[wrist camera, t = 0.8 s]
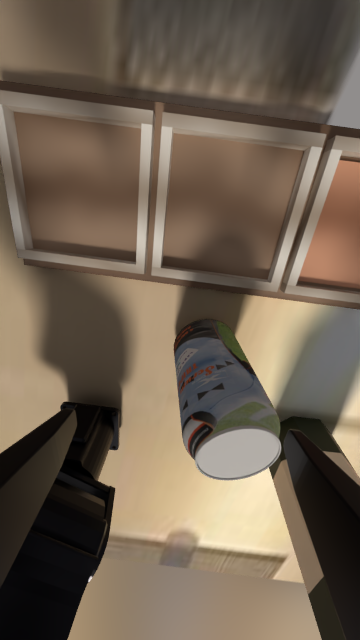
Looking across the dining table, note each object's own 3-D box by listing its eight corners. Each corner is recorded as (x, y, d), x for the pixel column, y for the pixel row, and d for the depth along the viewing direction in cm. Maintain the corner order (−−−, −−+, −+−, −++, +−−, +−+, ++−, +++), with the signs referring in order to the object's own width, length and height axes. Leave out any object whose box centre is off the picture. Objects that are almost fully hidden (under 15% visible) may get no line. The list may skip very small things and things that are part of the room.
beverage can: (187, 305, 21) (181, 395, 10) (257, 330, 22) (320, 439, 11) (166, 357, 24) (144, 472, 13) (229, 377, 25) (259, 504, 14)
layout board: (388, 310, 21) (408, 319, 19) (31, 262, 20) (16, 266, 19) (476, 151, 16) (513, 142, 14) (5, 88, 16) (-20, 70, 14)
